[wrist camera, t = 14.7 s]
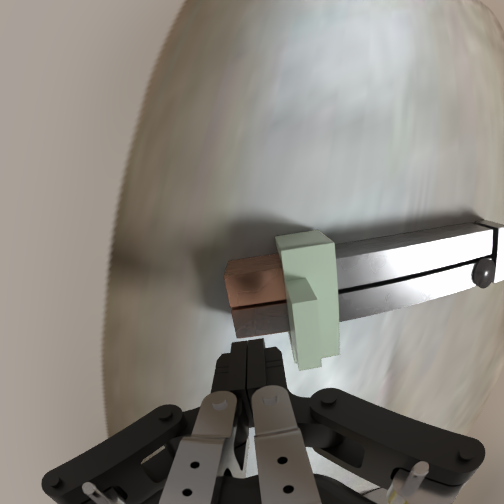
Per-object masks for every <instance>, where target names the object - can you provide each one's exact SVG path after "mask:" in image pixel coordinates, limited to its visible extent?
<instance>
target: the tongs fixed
mask: <svg viewBox="0 0 504 504" xmlns="http://www.w3.org/2000/svg"><path fill="white" fill-rule="evenodd" d="M335 255H336V268H337V283H338V289H344V288H349V287H354V286H359V285H364V284H369V283H374V282H379V281H383V280H388V279H393V278H397V277H402V276H406V275H411V274H415V273H419V272H423V271H428V270H432V269H436V268H440V267H444V266H448V265H452V264H456V263H460V262H463V261H467V260H471V259H474V258H478V257H482V256H487V257H489V258H491V260H492V261H493V262H494V264H495V274H494V278H493V280H492V282H493V283H496V282H499V281H501V280H504V225H502V224H498V223H495V222H491V221H487V220H481V221H476V222H475V224H472V223H464V224H458V225H452V226H446V227H440V228H434V229H428V230H422V231H416V232H410V233H404V234H397V235H391V236H385V237H379V238H373V239H367V240H360V241H354V242H348V243H342V244H336V245H335ZM224 280H225V285H226V290H227V295H228V299H229V304H230V307H236V306H244V305H251V304H258V303H264V302H271V301H277V300H284V299H286V292H285V284H284V277H283V269H282V262H281V259H280V256H279V253H276V254H270V255H264V256H257V257H251V258H244V259H238V260H231V261H228V264H227V267H226V271H225V274H224Z"/></svg>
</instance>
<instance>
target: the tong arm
mask: <svg viewBox="0 0 504 504" xmlns="http://www.w3.org/2000/svg"><path fill="white" fill-rule="evenodd" d="M494 274H495V264H494V262H493V261H492V260H491V258H489V257H487V256H482V257H478V258H474V259H471V260H467V261H463V262H460V263H456V264H452V265H448V266H444V267H440V268H436V269H432V270H428V271H423V272H419V273H415V274H411V275H406V276H402V277H397V278H393V279H388V280H383V281H379V282H374V283H369V284H364V285H359V286H354V287H349V288H344V289H338V302H339V322H342V321H347V320H351V319H356V318H361V317H365V316H370V315H374V314H378V313H382V312H387V311H391V310H395V309H399V308H403V307H406V306H410V305H414V304H418V303H421V302H425V301H428V300H432V299H435V298H439V297H442V296H445V295H449V294H452V293H455V292H458V291H461V290H465V289H468V288H471V287H474V286H479V287H480V288H486V287H488V286H489V285H490V283H491V282H492V280H493V278H494ZM231 313H232V318H233V323H234V327H235V332H236V337H237V338H245V337H253V336H261V335H268V334H275V333H281V332H288V331H290V324H289V315H288V307H287V299H284V300H277V301H271V302H264V303H258V304H251V305H244V306H236V307H232V308H231Z"/></svg>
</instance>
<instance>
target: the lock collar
mask: <svg viewBox="0 0 504 504" xmlns="http://www.w3.org/2000/svg"><path fill="white" fill-rule="evenodd" d="M275 240H276V247H277V250H278V253H279V256H280V259H281V262H282V269H283V277H284V284H285V292H286V299H287V307H288V315H289V324H290V331H288V334H289V339H290V344H291V348H292V353H293V357H294V362H295V363H298V368H299V371H301V370H307V369H312V368H318V367H322V364H321V358H326V357H331V356H336V355H340V332H339V302H338V283H337V268H336V255H335V244H334V242H333V241H332V240H330V239H329V238H328V237H326V236H325V235H324V234H323V233H321V232H320V231H319V230H314V231H307V232H301V233H294V234H288V235H281V236H275Z"/></svg>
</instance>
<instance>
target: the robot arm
mask: <svg viewBox="0 0 504 504" xmlns="http://www.w3.org/2000/svg"><path fill="white" fill-rule="evenodd" d="M251 427H255V435H256V436H254V441H255V450H256V459H257V467H258V475H255V476H252V477H248V478H246V467H247V459H248V450H249V438H248V436H249V428H251ZM163 445H164V446H165V449H163V450H162V451H160V452H159V453H158V454H156V455H155V456H153V457H152V458H150V459H149V460H148V461H146V462H145V463H143V464H141V462H142V460H143V459H144V458H146V457H147V456H149V455H150V454H152V453H153V452H155V451H156V450H157V449H159V448H160V447H162V446H163ZM305 447H313V449H314V451H315V452H317V453H318V454H320V455H322V456H323V457H325V458H327V459H328V460H330V461H332V462H334V463H335V464H337V465H339V466H341V467H343V468H344V469H346V470H348V471H350V472H352V473H354V474H356V475H357V476H359V477H361V478H363V479H365V480H367V481H369V482H371V483H373V484H376V485H378V486H380V487H382V488H381V489H377V490H375V491H372V492H370V493H367V494H365V495H361V494H359V493H357V492H356V491H354V490H352V489H351V488H349V487H347V486H346V485H344V484H342V483H341V482H339V481H337V480H335V479H333V478H331V477H328V476H324V475H320V474H313V472H312V468H311V465H310V462H309V458H308V455H307V451H306V448H305ZM484 457H485V448H484V446H483V444H482V443H481V442H480V441H479V440H477V439H474V438H471V437H467V436H464V435H461V434H457V433H454V432H450V431H447V430H444V429H441V428H438V427H435V426H432V425H429V424H426V423H423V422H420V421H417V420H414V419H411V418H409V417H406V416H403V415H400V414H398V413H395V412H393V411H390V410H387V409H385V408H382V407H380V406H377V405H375V404H372V403H370V402H368V401H365V400H363V399H360V398H358V397H356V396H353V395H351V394H349V393H346V392H344V391H342V390H339V389H336V388H326V389H322V390H319V391H317V392H316V393H314V394H313V395H312V396H311V398H306V397H299V396H296V395H293V394H292V393H291V392H290V391H289V390H288V388H287V384H286V378H285V371H284V365H283V359H282V353H281V351H280V350H279V349H278V348H277V347H271V348H265V343H264V338H262V339H255V340H248V341H240V342H232V345H231V353H225V354H222V355H221V356H220V357H219V359H218V360H217V363H216V369H215V375H214V379H213V384H212V389H211V394H209V395H208V396H206V397H205V398H204V399H203V401H202V404H201V406H200V407H198V408H196V409H192V410H188V411H185V412H182V410H181V408H179V407H178V406H176V405H170V404H169V405H163V406H160V407H158V408H156V409H154V410H153V411H151V412H150V413H148V414H147V415H145V416H144V417H142V418H141V419H139V420H137V421H136V422H134V423H133V424H131V425H130V426H128V427H126V428H125V429H123V430H122V431H120V432H118V433H117V434H115V435H113V436H112V437H110V438H108V439H107V440H105V441H103V442H102V443H100V444H98V445H97V446H95V447H93V448H91V449H90V450H88V451H86V452H85V453H83V454H81V455H79V456H77V457H75V458H74V459H72V460H70V461H68V462H66V463H64V464H62V465H60V466H59V467H57V468H55V469H53V470H51V471H49V472H47V473H46V474H45V475H44V477H43V479H42V489H43V490H44V492H45V493H46V494H47V495H48V496H50V497H51V498H52V499H53V500H54V501H55V502H57V504H452V503H453V502H454V500H455V498H456V496H457V495H458V493H459V491H460V490H461V489H462V487H463V486H464V485H465V484H466V483H467V481H468V480H469V479H470V478H471V476H472V475H473V474H474V473H475V471H476V470H477V469H478V468H479V466H480V465H481V463H482V462H483V460H484Z"/></svg>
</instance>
